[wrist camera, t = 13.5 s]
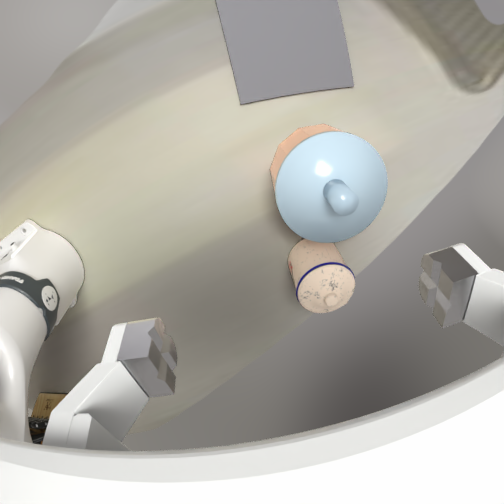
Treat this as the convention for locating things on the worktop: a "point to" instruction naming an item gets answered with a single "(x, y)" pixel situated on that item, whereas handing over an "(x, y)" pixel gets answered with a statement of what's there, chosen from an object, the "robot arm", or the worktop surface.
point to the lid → (331, 186)
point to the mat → (285, 46)
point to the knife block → (42, 415)
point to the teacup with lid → (320, 276)
